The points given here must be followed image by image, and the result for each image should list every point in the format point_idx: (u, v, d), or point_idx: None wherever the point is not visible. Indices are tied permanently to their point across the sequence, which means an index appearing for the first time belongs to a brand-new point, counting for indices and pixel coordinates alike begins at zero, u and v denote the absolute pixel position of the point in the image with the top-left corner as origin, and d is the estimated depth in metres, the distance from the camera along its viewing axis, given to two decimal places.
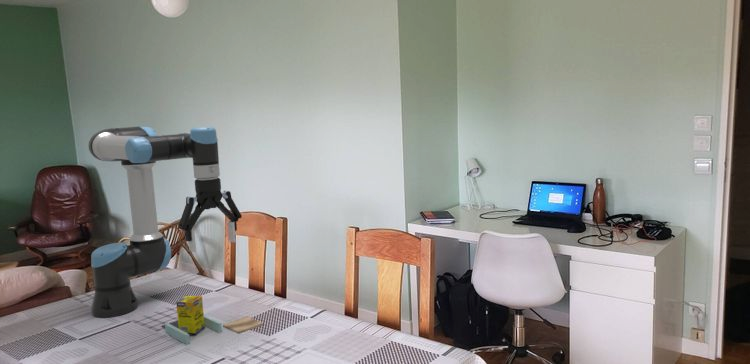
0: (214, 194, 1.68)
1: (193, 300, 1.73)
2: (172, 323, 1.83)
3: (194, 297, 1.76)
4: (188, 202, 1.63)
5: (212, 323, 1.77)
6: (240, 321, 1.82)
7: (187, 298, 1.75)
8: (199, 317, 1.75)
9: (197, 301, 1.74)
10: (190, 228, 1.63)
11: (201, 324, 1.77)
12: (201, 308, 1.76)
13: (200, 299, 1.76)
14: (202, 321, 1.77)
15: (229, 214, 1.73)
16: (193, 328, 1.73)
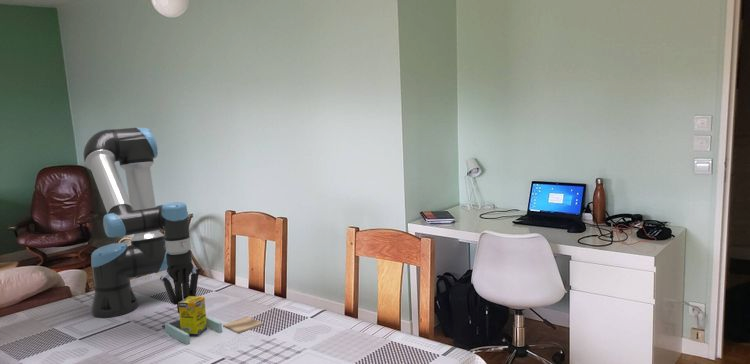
0: None
1: (196, 301, 1.72)
2: (172, 323, 1.83)
3: (196, 298, 1.75)
4: (164, 282, 1.73)
5: (212, 323, 1.77)
6: (240, 321, 1.82)
7: (190, 299, 1.75)
8: (201, 318, 1.75)
9: (199, 302, 1.73)
10: None
11: (203, 325, 1.76)
12: (203, 309, 1.76)
13: (202, 300, 1.75)
14: (204, 322, 1.76)
15: (187, 292, 1.77)
16: (195, 329, 1.72)
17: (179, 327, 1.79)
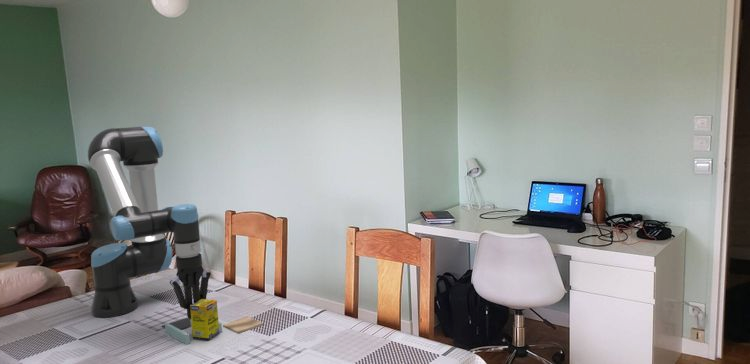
0: None
1: (207, 304, 1.69)
2: (172, 323, 1.83)
3: (208, 301, 1.72)
4: (174, 286, 1.68)
5: None
6: (240, 321, 1.82)
7: (202, 302, 1.71)
8: (213, 322, 1.71)
9: (211, 305, 1.70)
10: None
11: (215, 329, 1.72)
12: (215, 313, 1.72)
13: (214, 303, 1.72)
14: (216, 326, 1.73)
15: (197, 296, 1.73)
16: (206, 333, 1.69)
17: (179, 327, 1.79)
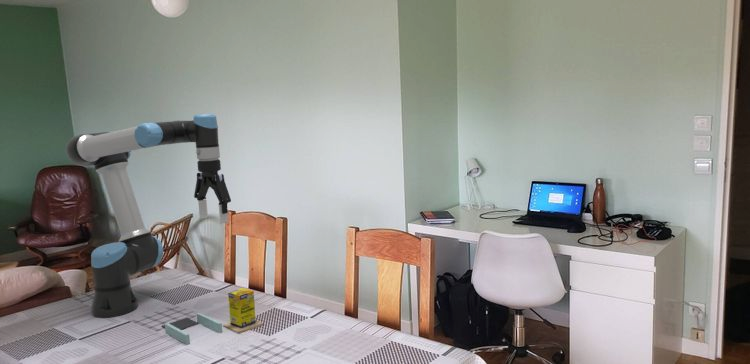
0: (208, 174, 1.88)
1: (241, 294, 1.75)
2: (172, 323, 1.83)
3: (246, 290, 1.78)
4: None
5: (212, 323, 1.77)
6: None
7: (240, 290, 1.79)
8: (248, 311, 1.77)
9: (246, 295, 1.76)
10: (197, 198, 1.95)
11: (250, 318, 1.78)
12: (251, 303, 1.78)
13: (250, 293, 1.77)
14: (252, 315, 1.79)
15: (217, 196, 1.86)
16: (239, 321, 1.76)
17: (179, 327, 1.79)
